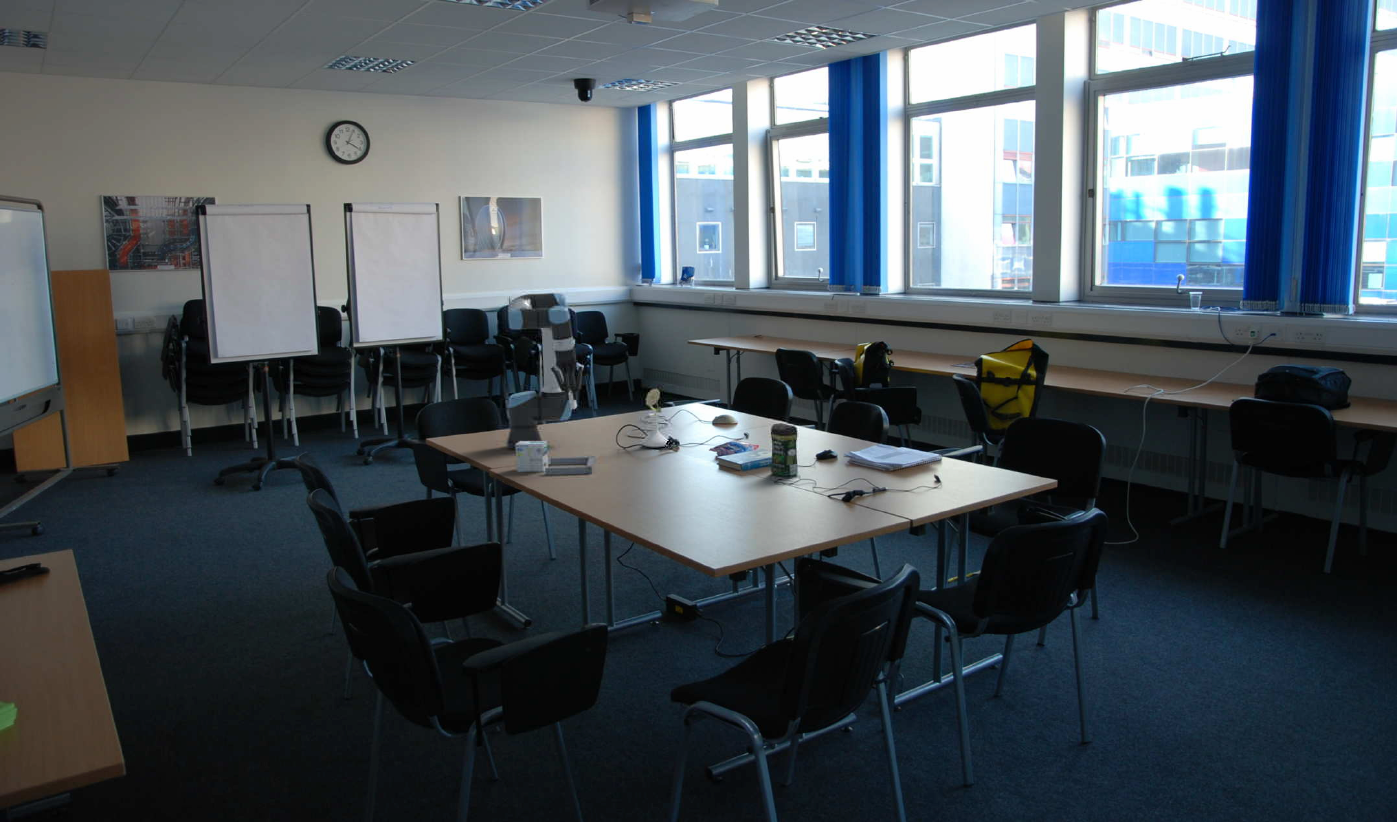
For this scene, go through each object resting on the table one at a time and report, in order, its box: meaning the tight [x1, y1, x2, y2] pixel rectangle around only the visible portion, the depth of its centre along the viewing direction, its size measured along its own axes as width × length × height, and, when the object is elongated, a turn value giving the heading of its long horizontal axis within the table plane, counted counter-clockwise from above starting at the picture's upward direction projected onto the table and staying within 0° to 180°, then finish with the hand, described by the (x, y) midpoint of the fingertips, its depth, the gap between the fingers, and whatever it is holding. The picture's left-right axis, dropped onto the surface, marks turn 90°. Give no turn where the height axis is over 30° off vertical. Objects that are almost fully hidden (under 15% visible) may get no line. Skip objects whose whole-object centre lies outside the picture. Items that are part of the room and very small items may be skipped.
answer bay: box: [544, 455, 596, 476], centre depth 368 cm, size 20×17×2 cm
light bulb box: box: [515, 440, 549, 473], centre depth 367 cm, size 11×7×11 cm, turn 84°
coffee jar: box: [770, 422, 799, 478], centre depth 349 cm, size 10×8×19 cm
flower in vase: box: [641, 388, 669, 448], centre depth 405 cm, size 13×11×25 cm
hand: (574, 407), depth 370 cm, fingers closed
